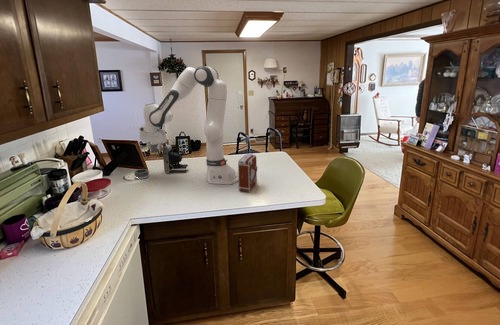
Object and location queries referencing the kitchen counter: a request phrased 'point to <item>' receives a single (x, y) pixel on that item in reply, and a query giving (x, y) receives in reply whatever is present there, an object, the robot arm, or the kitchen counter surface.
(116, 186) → the kitchen counter surface
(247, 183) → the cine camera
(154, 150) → the lens cap
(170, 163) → the vintage camera
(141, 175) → the lens barrel
